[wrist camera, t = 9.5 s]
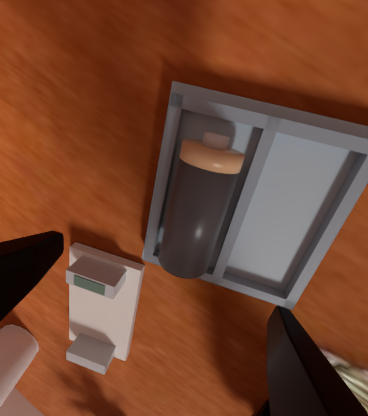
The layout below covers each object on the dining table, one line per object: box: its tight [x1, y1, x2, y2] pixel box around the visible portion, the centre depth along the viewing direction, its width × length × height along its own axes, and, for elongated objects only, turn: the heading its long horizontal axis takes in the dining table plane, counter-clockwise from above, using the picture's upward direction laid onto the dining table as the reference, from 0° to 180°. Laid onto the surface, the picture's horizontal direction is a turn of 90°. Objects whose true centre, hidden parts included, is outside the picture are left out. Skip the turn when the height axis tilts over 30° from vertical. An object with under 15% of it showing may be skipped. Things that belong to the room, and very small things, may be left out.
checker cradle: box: [66, 242, 145, 375], centre depth 26 cm, size 15×8×4 cm, turn 167°
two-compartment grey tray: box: [142, 81, 368, 310], centre depth 18 cm, size 15×14×2 cm
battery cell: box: [158, 131, 245, 279], centre depth 16 cm, size 10×4×4 cm, turn 167°
